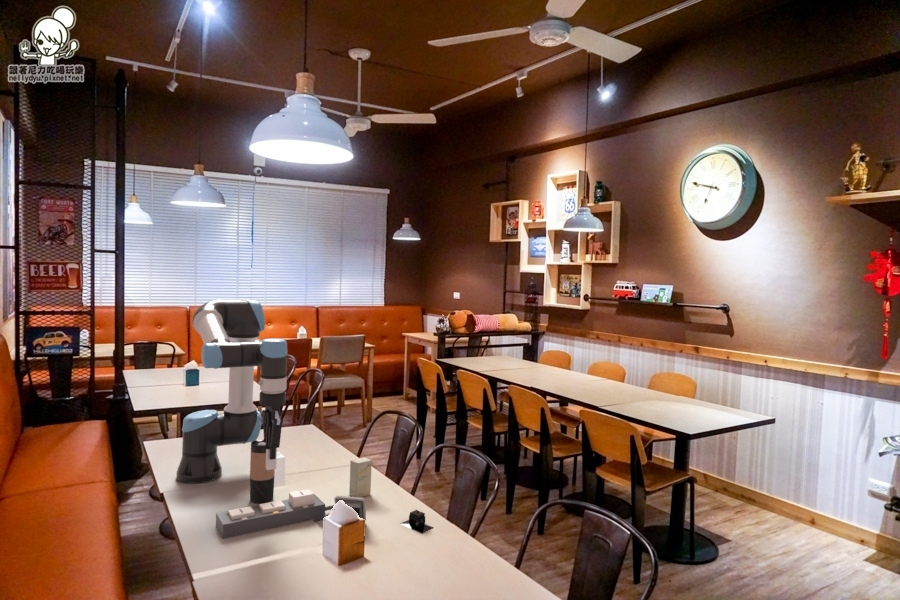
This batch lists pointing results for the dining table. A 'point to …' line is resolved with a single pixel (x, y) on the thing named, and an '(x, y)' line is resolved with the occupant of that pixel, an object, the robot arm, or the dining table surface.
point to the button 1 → (240, 513)
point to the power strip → (270, 518)
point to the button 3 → (301, 498)
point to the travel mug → (260, 475)
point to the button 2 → (271, 507)
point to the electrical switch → (354, 504)
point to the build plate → (417, 522)
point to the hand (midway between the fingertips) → (270, 468)
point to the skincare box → (360, 477)
